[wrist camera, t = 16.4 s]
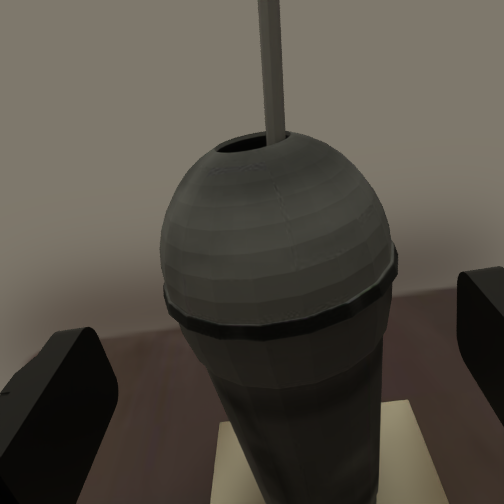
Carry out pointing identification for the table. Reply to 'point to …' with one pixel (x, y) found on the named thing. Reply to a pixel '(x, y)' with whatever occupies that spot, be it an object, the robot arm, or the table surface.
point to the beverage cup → (286, 298)
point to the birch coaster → (390, 465)
